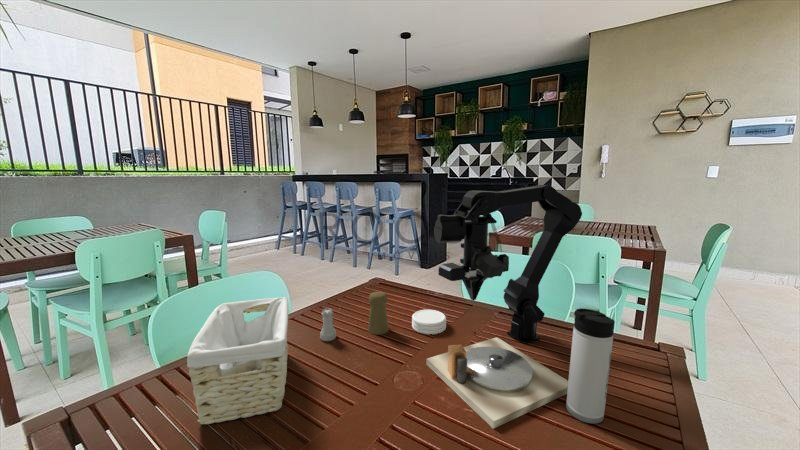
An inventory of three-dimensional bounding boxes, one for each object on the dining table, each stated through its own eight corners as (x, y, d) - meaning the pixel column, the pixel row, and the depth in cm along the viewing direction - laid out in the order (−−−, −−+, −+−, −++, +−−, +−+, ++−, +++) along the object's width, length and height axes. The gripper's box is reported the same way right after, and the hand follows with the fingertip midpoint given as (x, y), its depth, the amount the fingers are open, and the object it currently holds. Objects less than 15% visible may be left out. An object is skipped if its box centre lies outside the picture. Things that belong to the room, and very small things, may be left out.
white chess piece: (339, 335, 90) (339, 308, 89) (330, 343, 86) (329, 314, 85) (326, 332, 92) (325, 305, 91) (316, 339, 88) (315, 311, 87)
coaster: (451, 324, 98) (451, 313, 97) (436, 339, 89) (437, 326, 89) (422, 316, 103) (422, 306, 102) (405, 329, 95) (405, 318, 94)
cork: (385, 335, 91) (385, 297, 89) (365, 333, 92) (364, 296, 90) (390, 325, 96) (390, 290, 95) (371, 323, 98) (370, 288, 96)
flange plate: (511, 348, 81) (512, 327, 80) (546, 388, 66) (549, 362, 65) (440, 354, 78) (440, 332, 77) (460, 396, 63) (461, 369, 63)
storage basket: (221, 359, 79) (216, 301, 77) (292, 349, 84) (289, 294, 81) (190, 435, 56) (181, 356, 54) (289, 415, 61) (285, 341, 59)
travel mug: (557, 401, 65) (566, 305, 62) (589, 399, 65) (599, 304, 62) (577, 425, 59) (587, 320, 55) (611, 423, 59) (624, 319, 56)
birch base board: (496, 342, 87) (497, 319, 86) (573, 390, 68) (575, 362, 67) (426, 364, 77) (426, 338, 76) (493, 428, 58) (495, 395, 57)
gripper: (467, 251, 71) (464, 319, 74) (527, 243, 80) (523, 304, 82) (437, 242, 81) (436, 302, 83) (494, 235, 90) (491, 290, 92)
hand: (473, 299), depth 85 cm, fingers closed
